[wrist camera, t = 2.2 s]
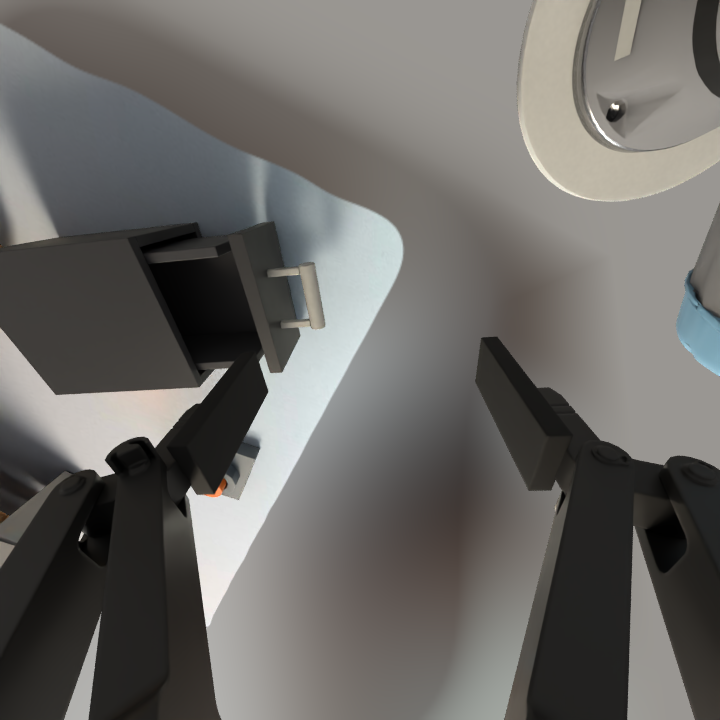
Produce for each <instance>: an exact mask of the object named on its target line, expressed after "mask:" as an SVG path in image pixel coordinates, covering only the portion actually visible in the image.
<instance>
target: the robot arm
mask: <svg viewBox="0 0 720 720" xmlns="http://www.w3.org/2000/svg"><path fill="white" fill-rule="evenodd" d="M572 89H573V98H574V104H575V108H576V111H577V114H578V117H579V119H580V121H581V123H582V125H583V127H584V128H585V130H586V131H587V132H588V134H589V135H590V136H591V137H592V138H593V139H594V140H595V141H596V142H598V143H599V144H601V145H602V146H604V147H606V148H608V149H611V150H614V151H619V152H625V153H638V152H648V151H657V150H663V149H668V148H671V147H675V146H678V145H681V144H684V143H686V142H689V141H691V140H693V139H695V138H698V137H700V136H702V135H704V134H706V133H708V132H710V131H712V130H714V129H716V128H718V127H720V0H590V3H589V5H588V8H587V10H586V13H585V16H584V18H583V21H582V25H581V28H580V31H579V35H578V39H577V43H576V47H575V53H574V59H573V69H572ZM684 286H685V291H686V292H685V296H684V299H683V302H682V305H681V308H680V312H679V315H678V318H677V323H676V329H677V334H678V337H679V339H680V341H681V343H682V344H683V345H684V347H685V348H686V349H687V350H688V351H689V352H691V353H692V354H693V356H694V358H695V359H696V360H697V361H698V362H699V363H700V364H702V365H703V366H705V367H706V368H708V369H709V370H710V371H712V372H713V373H715V374H716V375H718V376H720V204H719V206H718V209H717V211H716V214H715V216H714V219H713V222H712V224H711V227H710V229H709V232H708V234H707V237H706V239H705V242H704V244H703V247H702V249H701V252H700V255H699V257H698V260H697V262H696V265H695V267H694V269H692V270H691V271H689V273H688V275H687V277H686V279H685V285H684ZM475 382H476V384H477V386H478V388H479V390H480V392H481V394H482V397H483V399H484V401H485V403H486V405H487V407H488V409H489V411H490V413H491V415H492V417H493V419H494V421H495V423H496V425H497V427H498V429H499V431H500V433H501V435H502V437H503V439H504V441H505V443H506V446H507V448H508V449H509V452H510V454H511V456H512V458H513V460H514V462H515V464H516V466H517V468H518V470H519V472H520V474H521V476H522V478H523V480H524V482H525V484H526V486H527V488H528V490H529V491H534V490H535V491H537V490H538V491H539V490H540V491H541V490H552V487H553V485H554V482H555V480H556V481H557V483H558V484H559V486H560V488H561V489H562V492H561V494H560V496H559V498H558V501H557V503H556V505H555V508H554V509H555V510H556V512H555V517H554V520H553V524H552V528H551V533H550V536H549V540H548V545H547V549H546V553H545V557H544V561H543V565H542V569H541V573H540V577H539V581H538V585H537V590H536V593H535V598H534V601H533V605H532V609H531V613H530V618H529V622H528V625H527V630H526V634H525V638H524V642H523V646H522V650H521V654H520V658H519V662H518V666H517V670H516V674H515V678H514V682H513V686H512V690H511V694H510V698H509V703H508V707H507V710H506V714H505V718H504V720H627V708H628V675H629V643H630V642H629V641H630V610H631V576H632V545H633V544H632V543H633V542H632V541H633V526H635V529H636V532H637V535H638V538H639V542H640V545H641V548H642V551H643V555H644V558H645V561H646V564H647V567H648V571H649V574H650V577H651V580H652V583H653V586H654V590H655V593H656V596H657V599H658V602H659V605H660V609H661V612H662V615H663V619H664V622H665V625H666V628H667V631H668V635H669V638H670V641H671V644H672V647H673V651H674V654H675V657H676V660H677V663H678V666H679V670H680V673H681V676H682V679H683V683H684V686H685V689H686V692H687V696H688V699H689V702H690V705H691V708H692V712H693V715H694V718H695V720H720V470H719V469H717V468H716V467H714V466H712V465H710V464H708V463H706V462H704V461H702V460H698V459H695V458H691V457H686V456H674V457H670V458H669V460H668V461H667V462H666V463H665V465H659V464H654V463H649V462H644V461H639V460H635V459H632V458H631V457H630V456H629V455H628V453H627V452H625V451H624V450H622V449H621V448H619V447H617V446H615V445H613V444H611V443H609V442H604V441H600V439H599V438H598V437H597V436H596V435H595V434H594V432H593V431H592V430H591V429H590V428H589V427H588V425H587V424H586V423H585V422H584V421H583V420H582V419H581V417H580V416H579V415H578V414H577V413H575V410H574V409H573V408H572V407H571V406H569V404H568V402H567V401H566V400H565V399H564V398H563V397H562V395H560V394H558V393H557V392H556V391H554V390H552V389H551V388H536V386H535V385H534V384H533V382H532V381H531V380H530V379H529V377H528V376H527V375H526V374H525V372H524V371H523V369H522V368H521V367H520V366H519V364H518V363H517V362H516V361H515V359H514V358H513V357H512V355H511V354H510V353H509V351H508V350H507V349H506V348H505V346H504V345H503V344H502V342H501V341H500V340H499V339H498V337H484V338H481V344H480V351H479V359H478V366H477V374H476V380H475ZM267 393H268V389H267V386H266V383H265V380H264V377H263V373H262V370H261V367H260V364H259V361H258V358H257V355H256V352H255V351H253V352H242V353H241V354H240V355H239V356H238V358H237V359H236V360H235V361H234V363H233V364H232V365H231V366H230V368H229V369H228V370H227V371H226V373H225V374H224V375H223V376H222V378H221V379H220V380H219V381H218V383H217V384H216V385H215V386H214V388H213V389H212V390H211V391H210V393H209V394H208V395H207V396H206V398H205V399H204V400H203V401H202V403H201V404H195V405H194V406H192V407H191V408H190V409H188V410H187V411H186V412H185V413H184V414H183V415H182V417H181V418H180V419H179V422H176V424H175V425H174V426H173V429H171V430H170V431H169V432H168V433H167V434H166V436H165V437H164V438H163V439H162V440H161V442H160V443H159V444H158V445H157V446H156V448H154V446H153V445H152V444H151V442H150V441H149V439H148V438H145V437H136V438H133V439H129V440H127V441H125V442H123V443H121V444H120V445H118V446H117V447H115V448H114V449H113V450H112V451H111V452H110V453H109V454H108V455H107V457H106V459H105V461H106V462H107V464H108V465H109V466H110V467H111V468H112V470H113V471H114V472H115V474H111V475H108V476H104V477H100V476H99V475H98V474H97V473H96V472H95V471H94V470H90V469H89V470H83V471H80V472H77V473H75V474H72V475H70V476H69V477H67V478H65V479H64V480H63V481H61V482H60V483H59V484H58V485H56V486H55V488H54V489H53V490H52V491H51V492H50V494H49V495H48V497H47V498H46V500H45V501H44V503H43V504H42V506H41V507H40V509H39V510H38V512H37V513H36V515H35V516H34V518H33V519H32V521H31V523H30V524H29V526H28V527H27V529H26V530H25V532H24V533H23V535H22V536H21V538H20V539H19V541H18V542H17V544H16V545H15V547H14V548H13V550H12V551H11V553H10V554H9V556H8V557H7V559H6V560H5V562H4V563H3V565H2V566H1V568H0V720H64V718H65V715H66V712H67V709H68V706H69V703H70V700H71V698H72V695H73V692H74V689H75V686H76V683H77V680H78V677H79V675H80V671H81V669H82V666H83V663H84V660H85V657H86V654H87V652H88V649H89V646H90V643H91V640H92V637H93V634H94V631H95V629H96V625H97V622H98V620H99V617H100V614H101V621H100V630H99V638H98V646H97V654H96V663H95V671H94V679H93V687H92V696H91V704H90V712H89V720H221V718H220V715H219V713H218V709H217V705H216V700H215V693H214V686H213V677H212V670H211V662H210V655H209V647H208V640H207V632H206V624H205V617H204V609H203V602H202V594H201V587H200V579H199V572H198V564H197V557H196V549H195V542H194V534H193V527H192V519H191V511H190V504H189V499H188V497H187V495H186V493H187V491H188V489H189V488H190V486H192V488H193V490H194V491H195V493H196V494H197V495H212V494H215V493H216V491H217V489H218V487H219V486H220V484H221V482H222V480H223V478H224V476H225V474H226V472H227V470H228V468H229V466H230V464H231V463H232V461H233V459H234V457H235V455H236V453H237V451H238V449H239V447H240V445H241V443H242V441H243V439H244V438H245V436H246V434H247V432H248V430H249V428H250V426H251V424H252V422H253V420H254V418H255V416H256V415H257V413H258V411H259V409H260V407H261V405H262V403H263V401H264V399H265V397H266V395H267ZM81 531H82V532H83V533H84V535H83V537H82V539H81V540H80V541H78V540H79V537H80V533H81ZM101 611H102V613H101Z"/></svg>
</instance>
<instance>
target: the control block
mask: <svg viewBox="0 0 720 720" xmlns="http://www.w3.org/2000/svg"><path fill="white" fill-rule="evenodd" d="M259 450H260V448H257V447H254V446H251V445H248V444H245V443H241V445H240V447H239V449H238V451H237V453H236V455H235V457H234V459H233V461H232V463H231V464H230V466H229V468H228V470H227V472H226V474H225V476H224V479H225V480H226V486H225V488H224V490H223V492H222V494H221V495H224V496H227V497H231V498H234V499H238V500H239V498H240V496H241V494H242V492H243V489H244V487H245V484H246V482H247V479H248V477H249V475H250V472H251V470H252V467H253V465H254V462H255V460H256V457H257V455H258V452H259Z"/></svg>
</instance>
